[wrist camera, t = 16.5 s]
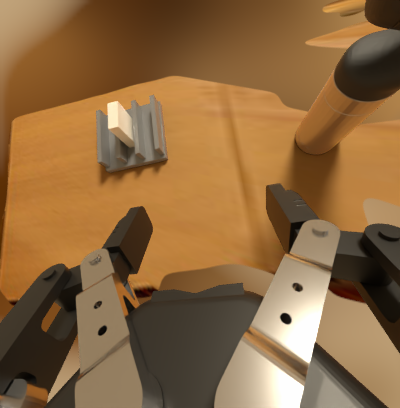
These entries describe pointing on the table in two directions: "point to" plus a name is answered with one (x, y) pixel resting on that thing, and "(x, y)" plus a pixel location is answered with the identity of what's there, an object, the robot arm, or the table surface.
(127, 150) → the dish rack
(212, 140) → the table surface
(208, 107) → the table surface
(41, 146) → the table surface
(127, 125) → the tall cream block
